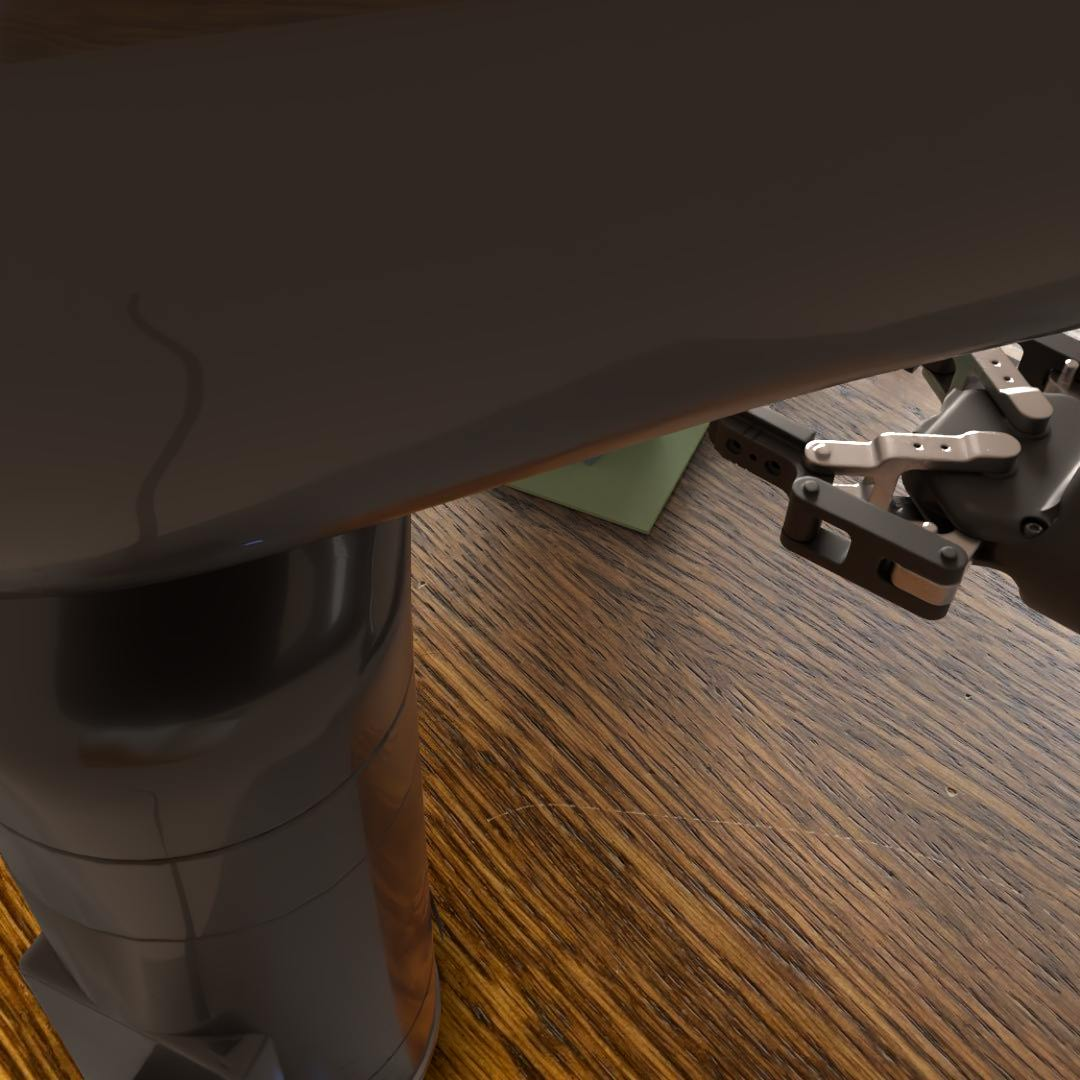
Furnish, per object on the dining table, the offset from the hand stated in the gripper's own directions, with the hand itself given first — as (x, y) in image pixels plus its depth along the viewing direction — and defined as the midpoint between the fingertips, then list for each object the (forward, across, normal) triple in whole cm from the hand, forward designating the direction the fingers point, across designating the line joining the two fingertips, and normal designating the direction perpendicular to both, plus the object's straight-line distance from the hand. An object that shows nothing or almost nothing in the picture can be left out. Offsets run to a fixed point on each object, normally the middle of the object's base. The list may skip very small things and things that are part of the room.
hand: (779, 358), depth 47 cm
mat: (+9, 0, +8) cm, 12 cm away
